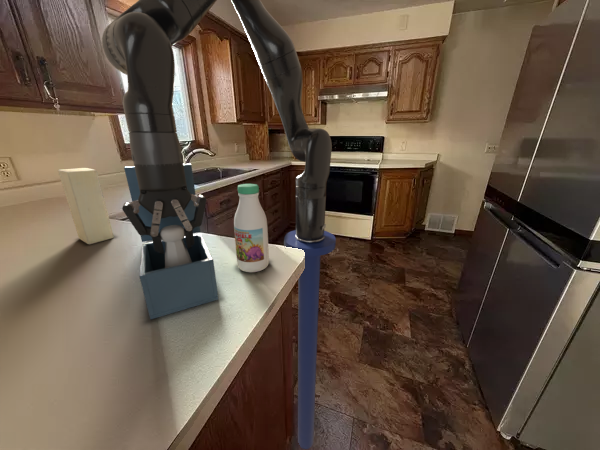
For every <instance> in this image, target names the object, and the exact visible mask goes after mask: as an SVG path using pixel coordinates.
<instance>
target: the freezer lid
mask: <svg viewBox="0 0 600 450" xmlns="http://www.w3.org/2000/svg"><path fill="white" fill-rule="evenodd" d="M183 165H184V171H185V178H186V184H187V189H188V191H189V192H190V194H193V195H197V194H196V187H195V180H194V173H193V166H192V164H191V163H183ZM123 170H124V174H125V177H126V182H127V186H128V190H129V194H130V199H131V202H132V201H135V200H138V198H139V195H140V190H139V185H138V181H137V176H136V172H135V167H134V165H132V166H124V167H123ZM139 209H140V210H139V213H138V215H139V216H140V218H141V220H142V221H143V223H144V224H145V226H148V227H151V224H152V216H153V214H151V213H150V212H149V211H148V210H146V209H145V208H144V207H143V206H142V205H140V206H139ZM195 209H196V206H194V204H193V201H192V200H190V201H189V203H188V205H187V206H186V208H185V210H184V212H185V214H186V216H187V218H188V220H189V221H191V220H193V219H194V214H195ZM170 225H180V226H182V227H183V228H184V229H185V227H184V225H183V224H182V222H181V220H180V218H179V217H178V216H176V217H172V216H169V217H166V218H161V220H160V226H159V233H160V230H161V229H162V228H164V227H166V226H170ZM200 233H202V232H201V226H199V227H195V228H194V229H193V234H200ZM139 236H140V239H141V243H146V242H152V241H153V240H152V237H151V236H149V235H143V236H142V235H139Z"/></svg>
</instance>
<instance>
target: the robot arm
mask: <svg viewBox="0 0 600 450" xmlns="http://www.w3.org/2000/svg"><path fill="white" fill-rule="evenodd" d="M217 1H218V0H137V1H136V2H135V3H133V4H132V5H131V6H129V7H128V8H127V9H125V10H124V11H123V12H122V13H121V14H120V15H118V16H117V17H116V18H115V19H113V20H112V21H111V22H110V23H109V24H108V25H106V27H105V29H104V30H103V33H102V36H101V44H102V46H101V47H102V49H103V50H102V51H103V52H104V55H105V58H106V59H107V60H108V62H109V63H110V65H112V66H113V67H114V68H115V69H116V70H117V71H119V72H120V73H122V74H124V75H125V76H126V79H127V90H126V92H125V93H124V94H123V96H122V107H123V113H124V117H125V122H126V127H127V131H128V136H129V138H128V139H129V148H130V149H129V150H130V154H131V156H130V157H131V160H132V162H133V166H134V167H135V172H136V176H137V181H138V185H139V190H140V195H139V198H138V200H135V201H132V200H131V201H126V202H124V203H123V204H122V208H121V210H122V212H123V213H124V215H125V216H126V218H127V219H128V221H129V222H130V223H131V225H132V227H133V228H134V229H135V231H136V232H137V234H138V235H139V236H140V235H142V236H143V235H149V236H151V237H152V240H151V241H152V242H153V245H154V249H155V251H156V252H159V253H160V254H164V249H163V244H162V239H161V236H160V233H159V226H160V220H161V218H166V217H169V216H172V217H176V216H178V217H179V218H180V220H181V222H182V224H183V225H184V227H185V229H184V230H185V238H186V244H187V248H188V249H190V248H191V245H194V237H193V235H194V233H193V229H194V228H195V227H199V226H200V227H201V226H202V224H203V219H204V214H205V209H206V204H207V198H206V197H205V196H204V195H203V194H199V195H197V194H196V195H193V194H190V192H189V191H188V189H187V184H186V178H185V171H184V165H183V164H184V155H183V152H182V146H181V142H180V139H179V136H178V131H177V125H176V124H177V123H176V118H175V113H174V109H173V102H174V92H175V74H176V67H175V66H176V64H175V63H176V62H175V54H174V50H173V46H174V45H176V44H177V43H179V42H181V41H183V40H184V39H186V38H187V37H188V36H189V35H190V34H191V33H192V32H193V31H194V29H195V28H196V27H197V26H198V25H199V24H200V22H201V21H202V20H203V19H204V18H205V16H206V15H207V14H208V13H209V11H210V10H211V9H212V7H213V6H214V5H215V3H216V2H217ZM230 1H231V3H232V4H233V7H234V9H235V11H236V14H237V15H238V17H239V20H240V22H241V24H242V27H243V29H244V32H245V33H246V36H247V38H248V41H249V43H250V45H251V48H252V50H253V52H254V55H255V58H256V61H257V64H258V66H259V69H260V70H261V73H262V75H263V79H264V80H265V83H266V85H267V88H268V89H269V92H270V94H271V97H272V99H273V102H274V104H275V107H276V109H277V112H278V115H279V118H280V121H281V123H282V126H283V130H284V133H285V136H286V140H287V144H288V146H289V149H290V151H291V154H292V155H293V157H294V158H295V159H296V160H298V161H300V162H304V170H303V172H302V173H300V174H298V175H296V176H295V230H296V235H295V238H296V240H298V241H299V242H302V243H319V242H321V241H323V240H324V231H325V229H326V228H327V227H326V225H327V224H326V204H327V203H326V201H327V183H328V182H327V181H328V179H329V176H330V170H331V162H332V161H331V160H332V151H333V149H332V147H333V145H332V144H333V143H332V139H331V136H330V135H331V134H330V133H329V132H328V131H327V130H326V129H324V128H309V126H308V123H307V121H306V117H305V114H304V112H303V107H302V105H303V104H302V96H303V83H304V81H303V78H304V77H303V70H302V66H301V61H300V60H299V56H298V53H297V50H296V47H295V45H294V42H293V40H292V38H291V36H290V35H289V33H288V32H287V31H286V30H285V29H284V27H283V26H282V25H281V24H280V23H279V22H278V21H277V20H276V19H275V18H274V17H273V15H272V14H271V13H270V12H269V11H268V10H267V8H266V7H265V5H264V4H263V2H262V0H230ZM190 200H192V201H193V204H194V206H196V209H195V214H194V219H193V220H191V221H189V220H188V218H187V216H186V214H185V212H184V210H185V208H186V206H187V205H188V203H189V201H190ZM140 205H142V206H143V207H144V208H145V209H146V210H148V211H149V212H150V213H151V214H153V216H152V224H151V227H148V226H145V224H144V223H143V221H142V220H141V218H140V216H139V215H138V213H139V210H140V209H139V206H140Z"/></svg>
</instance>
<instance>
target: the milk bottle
mask: <svg viewBox="0 0 600 450" xmlns="http://www.w3.org/2000/svg"><path fill="white" fill-rule="evenodd" d="M237 193H238V195H237V196H238V197H239V201H238V205H237V208H236V211H235V213H234V218H233V230H234V231H233V232H234V244H235V253H236V265H237V267H238V269H239V270H240V271H243V272H246V273H256V272H260V271H262V270H264V269H266V268H268V266H269V263H270V253H269V249H270V248H269V233H268V232H269V231H268V220H267V215H266V213H265V211H264V209H263V207H262V205H261V203H260V199H259V195H260V187H259V184H257V183H241V184H238V185H237Z"/></svg>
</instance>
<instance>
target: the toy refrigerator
mask: <svg viewBox="0 0 600 450" xmlns="http://www.w3.org/2000/svg"><path fill="white" fill-rule="evenodd" d="M57 172H58V176H59V179H60V182H61V185H62V189H63V192H64V195H65V199H66V201H67V205H68V208H69V212H70V214H71V218H72V220H73V224H74V227H75V230H76V233H77V236H78V239H79V240H80V241H82V242H84V243H85V244H87V245H92V244H96V243H99V242H103V241H107V240H110V239H114V232H113V228H112V225H111V220H110V217H109V213H108V210H107V209H108V208H107V205H106V201H105V197H104V193H103V190H102V185H101V182H100V179H99V174H98V171H97V169H93V168H90V167H89V168H88V167H79V168H78V167H76V168H65V169H58V170H57Z"/></svg>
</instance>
